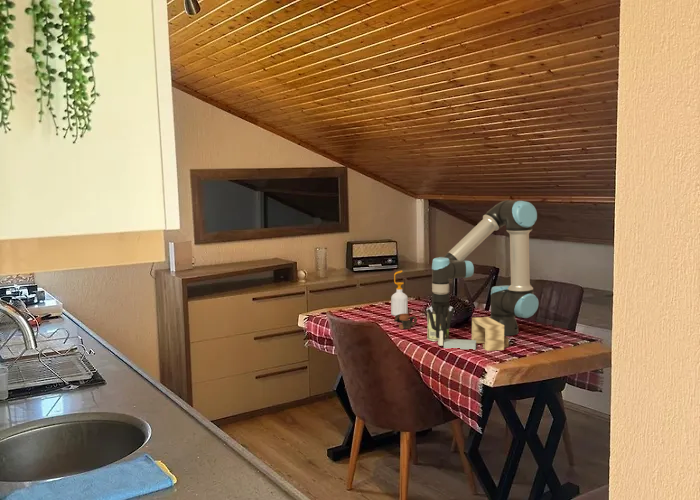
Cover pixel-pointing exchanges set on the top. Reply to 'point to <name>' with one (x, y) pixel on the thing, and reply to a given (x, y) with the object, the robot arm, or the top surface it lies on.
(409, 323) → the pottery mug
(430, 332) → the coffee can
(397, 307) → the soap bottle
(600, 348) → the top surface
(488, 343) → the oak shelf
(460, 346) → the grey flat block
